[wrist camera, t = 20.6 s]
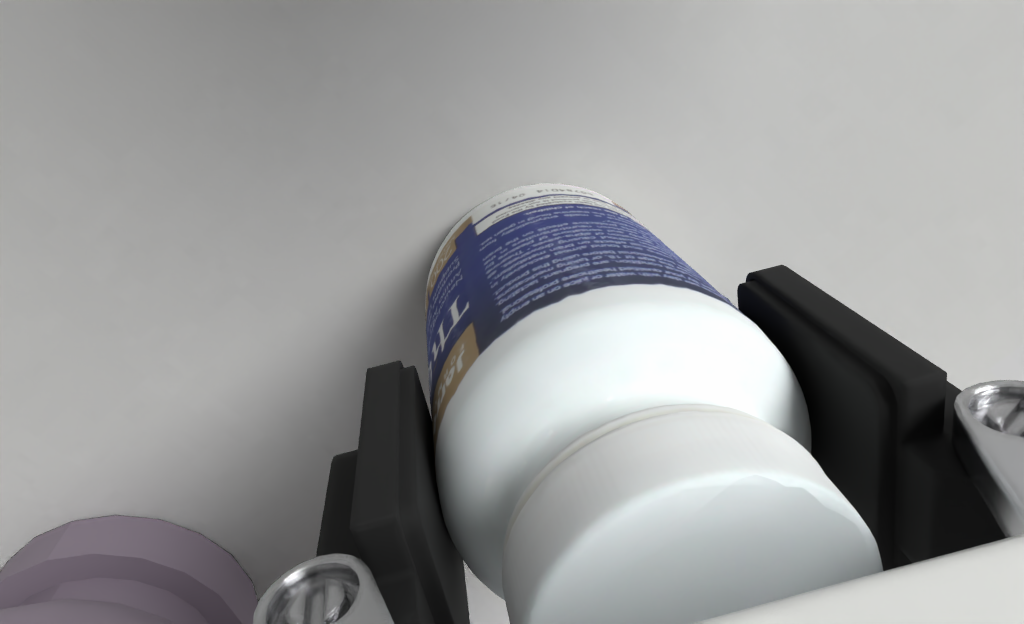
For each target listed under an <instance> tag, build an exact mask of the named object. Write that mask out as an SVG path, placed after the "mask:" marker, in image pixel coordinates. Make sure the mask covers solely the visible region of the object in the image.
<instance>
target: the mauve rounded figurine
mask: <svg viewBox="0 0 1024 624" xmlns="http://www.w3.org/2000/svg"><path fill="white" fill-rule="evenodd" d="M257 605H258V601H257V597H256V593H255V590H254V586H253V583H252V581H251V580H250V578H249V577H248V576H247V574H246V573H245V572H244V571H243V569H242V568H241V567H240V565H239V564H238V563H237V561H236V560H235V559H234V558H233V556H232V555H231V554H229V553H228V552H226V551H225V550H223V549H222V548H220V547H219V546H218V545H216V544H215V543H213V542H212V541H210V540H209V539H207V538H206V537H204V536H203V535H202V534H200V533H197V532H194V531H191V530H189V529H186V528H183V527H180V526H177V525H174V524H172V523H169V522H166V521H163V520H160V519H150V518H140V517H130V516H120V515H113V516H106V517H98V518H91V519H84V520H77V521H71V522H69V523H67V524H64V525H62V526H60V527H58V528H55V529H53V530H51V531H48V532H46V533H44V534H41V535H39V536H37V537H34V538H33V539H32V540H31V541H30V542H29V543H28V544H27V545H25V546H24V547H23V548H22V549H21V550H20V551H19V552H18V553H17V554H15V555H14V556H13V557H12V558H11V559H10V560H9V561H8V562H7V563H6V564H5V566H4V567H3V568H2V570H1V571H0V624H253V615H254V612H255V610H256V607H257Z"/></svg>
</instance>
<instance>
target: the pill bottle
mask: <svg viewBox="0 0 1024 624" xmlns="http://www.w3.org/2000/svg"><path fill="white" fill-rule="evenodd" d="M425 316H426V334H427V351H428V368H429V391H430V404H431V415H432V428H433V443H434V457H435V477H436V484H437V489H438V493H439V500H440V505H441V510H442V514H443V518H444V521H445V525H446V527H447V530H448V532H449V534H450V537H451V539H452V541H453V543H454V545H455V547H456V549H457V551H458V552H459V554H460V555H461V557H462V558H463V560H464V561H465V563H466V564H467V565H468V567H469V568H470V569H471V571H472V572H473V573H474V574H475V576H476V577H477V578H478V579H479V580H480V581H481V582H482V583H483V584H485V585H486V586H487V587H488V588H489V589H490V590H492V591H493V592H494V593H495V594H496V595H498V596H499V597H501V598H502V599H504V600H505V601H506V606H507V611H508V615H509V620H510V624H692V623H696V622H700V621H703V620H707V619H710V618H714V617H718V616H721V615H725V614H729V613H732V612H736V611H740V610H743V609H747V608H751V607H754V606H758V605H762V604H765V603H769V602H773V601H776V600H780V599H783V598H787V597H791V596H794V595H798V594H802V593H806V592H809V591H813V590H817V589H820V588H824V587H828V586H831V585H835V584H839V583H842V582H846V581H850V580H853V579H857V578H861V577H864V576H868V575H872V574H875V573H879V572H883V567H882V561H881V557H880V554H879V550H878V546H877V543H876V541H875V539H874V537H873V535H872V533H871V531H870V529H869V528H868V526H867V525H866V523H865V522H864V521H863V519H862V518H861V516H860V515H859V514H858V512H857V511H856V510H855V508H854V507H853V506H852V505H851V504H850V503H849V501H848V500H847V499H846V498H845V497H844V495H843V494H842V493H841V492H840V491H839V490H838V488H837V487H836V486H835V485H834V484H833V483H832V482H831V480H830V479H829V478H828V477H827V476H826V475H825V473H824V471H823V470H822V468H821V467H820V465H819V464H818V462H817V461H816V460H815V459H814V458H813V457H812V455H811V426H810V419H809V413H808V408H807V404H806V401H805V398H804V395H803V392H802V389H801V387H800V384H799V382H798V380H797V378H796V376H795V374H794V372H793V370H792V369H791V367H790V365H789V364H788V362H787V361H786V359H785V358H784V356H783V355H782V354H781V353H780V351H779V350H778V349H777V348H776V346H775V345H774V344H773V343H772V342H771V341H770V340H769V339H768V337H767V336H766V335H765V334H764V333H763V332H762V330H761V329H760V328H759V327H758V326H757V325H756V324H755V323H754V322H753V321H751V320H750V319H749V318H748V317H747V316H745V315H744V314H743V313H742V312H741V311H740V310H738V309H737V308H736V307H735V306H734V305H733V304H732V303H731V302H730V301H729V299H728V298H726V297H724V296H723V295H721V294H720V293H719V292H718V291H716V290H715V289H714V288H713V287H712V286H711V285H710V284H709V283H708V282H707V281H706V280H705V279H704V278H702V277H701V276H700V275H699V274H698V273H697V272H696V271H694V270H693V269H692V268H691V267H690V266H689V265H688V264H687V263H685V262H684V261H683V260H682V259H681V258H680V257H679V256H677V255H676V254H675V253H674V252H673V251H672V250H670V249H669V248H668V247H667V246H666V245H665V244H664V243H663V242H662V241H661V240H660V239H658V238H657V237H656V236H655V235H654V234H652V233H651V231H650V230H648V229H647V228H646V227H645V226H644V225H643V224H642V223H641V222H640V221H639V220H637V219H636V218H635V217H634V216H632V215H631V214H630V213H629V212H628V211H626V210H625V209H623V208H622V207H620V206H619V205H618V204H616V203H615V202H613V201H611V200H610V199H608V198H606V197H604V196H603V195H601V194H599V193H596V192H594V191H591V190H588V189H586V188H582V187H577V186H572V185H566V184H533V185H526V186H522V187H518V188H515V189H511V190H508V191H505V192H503V193H500V194H498V195H496V196H494V197H492V198H490V199H489V200H487V201H485V202H483V203H482V204H480V205H478V206H477V207H475V208H474V209H472V210H471V211H470V212H468V213H467V214H466V215H465V216H464V217H463V218H462V219H461V220H460V221H459V222H458V223H457V224H456V225H455V226H454V227H453V228H452V230H451V231H450V232H449V234H448V235H447V237H446V238H445V240H444V241H443V243H442V245H441V247H440V248H439V250H438V252H437V254H436V257H435V259H434V262H433V264H432V266H431V269H430V273H429V277H428V282H427V289H426V310H425Z"/></svg>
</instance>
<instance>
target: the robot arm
mask: <svg viewBox="0 0 1024 624" xmlns="http://www.w3.org/2000/svg"><path fill="white" fill-rule="evenodd" d="M737 294H738V307H739V310H740V311H741V312H742V313H743V314H744V315H745V316H747V317H748V318H749V319H750V320H751V321H753V322H754V323H755V324H756V325H757V326H758V327H759V328H760V329H761V330H762V332H763V333H764V334H765V335H766V336H767V337H768V339H769V340H770V341H771V342H772V343H773V344H774V345H775V346H776V348H777V349H778V350H779V351H780V353H781V354H782V355H783V356H784V358H785V359H786V361H787V362H788V364H789V365H790V367H791V369H792V370H793V372H794V374H795V376H796V378H797V380H798V382H799V384H800V387H801V389H802V392H803V395H804V398H805V401H806V404H807V408H808V413H809V419H810V426H811V455H812V457H813V458H814V459H815V460H816V461H817V462H818V464H819V465H820V467H821V468H822V470H823V471H824V473H825V475H826V476H827V477H828V478H829V479H830V480H831V482H832V483H833V484H834V485H835V486H836V487H837V488H838V490H839V491H840V492H841V493H842V494H843V495H844V497H845V498H846V499H847V500H848V501H849V503H850V504H851V505H852V506H853V507H854V508H855V510H856V511H857V512H858V514H859V515H860V516H861V518H862V519H863V521H864V522H865V523H866V525H867V526H868V528H869V529H870V531H871V533H872V535H873V537H874V539H875V541H876V543H877V546H878V550H879V554H880V557H881V561H882V567H883V572H879V573H875V574H872V575H868V576H864V577H861V578H857V579H853V580H850V581H846V582H842V583H839V584H835V585H831V586H828V587H824V588H820V589H817V590H813V591H809V592H806V593H802V594H798V595H794V596H791V597H787V598H783V599H780V600H776V601H773V602H769V603H765V604H762V605H758V606H754V607H751V608H747V609H743V610H740V611H736V612H732V613H729V614H725V615H721V616H718V617H714V618H710V619H707V620H703V621H700V622H696V623H692V624H1024V381H1011V380H997V381H991V382H984V383H979V384H976V385H974V386H971V387H968V388H966V389H964V390H963V391H961V390H960V389H958V388H957V387H955V386H954V385H952V384H951V383H949V382H948V381H946V380H947V373H946V372H945V371H943V370H942V369H940V368H939V367H937V366H936V365H934V364H933V363H931V362H930V361H928V360H927V359H925V358H924V357H922V356H921V355H919V354H918V353H916V352H915V351H913V350H912V349H910V348H909V347H907V346H906V345H904V344H903V343H901V342H900V341H898V340H897V339H895V338H894V337H892V336H890V335H889V334H887V333H886V332H884V331H883V330H881V329H880V328H878V327H877V326H875V325H874V324H872V323H871V322H869V321H868V320H866V319H865V318H863V317H862V316H860V315H859V314H857V313H856V312H854V311H853V310H851V309H850V308H848V307H847V306H845V305H844V304H842V303H841V302H839V301H838V300H836V299H834V298H833V297H831V296H830V295H828V294H827V293H825V292H824V291H822V290H821V289H819V288H818V287H816V286H815V285H813V284H812V283H810V282H809V281H807V280H806V279H804V278H803V277H801V276H800V275H798V274H797V273H795V272H794V271H792V270H791V269H789V268H788V267H786V266H784V265H779V266H775V267H771V268H767V269H763V270H759V271H755V272H751V273H749V274H748V275H747V278H746V283H742V284H739V286H738V290H737ZM253 624H470V620H469V611H468V601H467V592H466V582H465V573H464V564H463V558H462V557H461V555H460V554H459V552H458V551H457V549H456V547H455V545H454V543H453V541H452V539H451V537H450V534H449V532H448V530H447V527H446V525H445V521H444V518H443V514H442V510H441V505H440V500H439V493H438V489H437V484H436V477H435V457H434V443H433V428H432V419H431V416H430V413H429V409H428V406H427V403H426V400H425V396H424V393H423V390H422V386H421V383H420V380H419V376H418V373H417V370H416V368H415V366H411V367H407V368H404V367H403V365H402V363H401V361H396V362H392V363H388V364H384V365H380V366H376V367H372V368H368V369H367V372H366V382H365V391H364V400H363V409H362V418H361V428H360V437H359V446H358V450H355V451H351V452H347V453H343V454H339V455H336V456H334V457H333V460H332V463H331V469H330V475H329V481H328V487H327V493H326V499H325V505H324V511H323V517H322V523H321V529H320V536H319V542H318V548H317V554H316V558H313V559H310V560H308V561H305V562H302V563H300V564H299V565H297V566H295V567H294V568H292V569H290V570H289V571H287V572H285V573H284V574H283V575H282V576H281V577H280V578H279V579H277V580H276V581H275V582H274V583H273V584H272V585H271V586H270V587H269V588H268V590H267V591H266V592H265V593H264V595H263V596H262V597H261V599H260V600H259V603H258V605H257V607H256V610H255V612H254V615H253Z"/></svg>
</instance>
